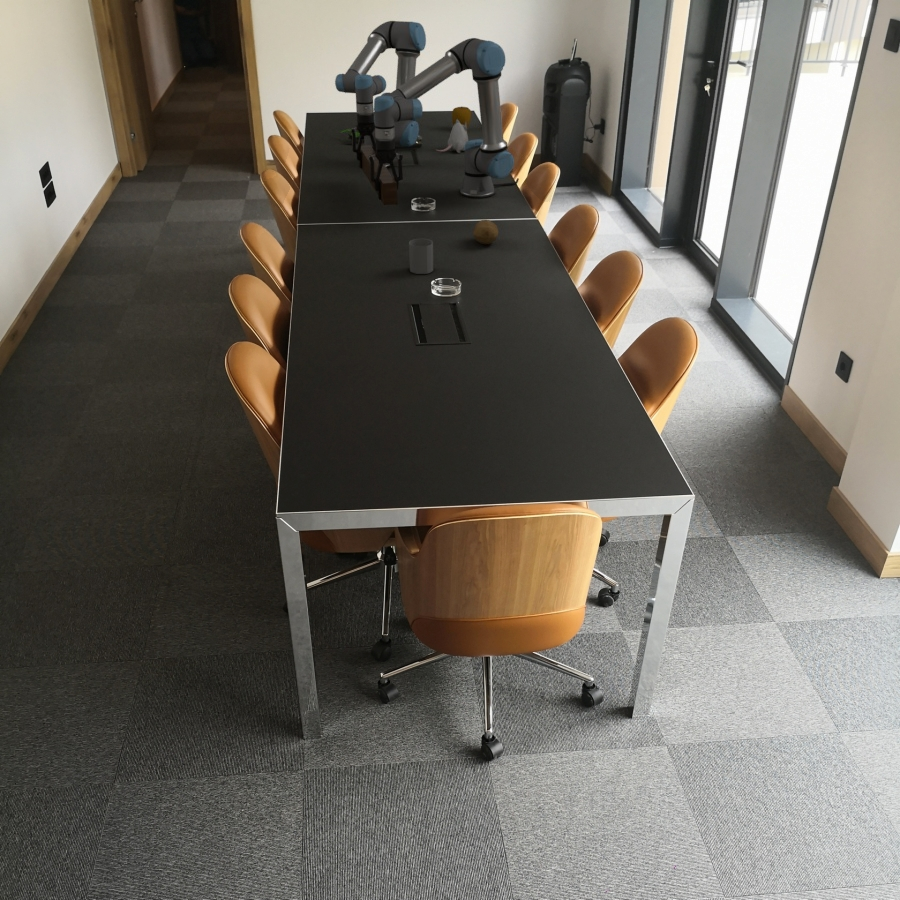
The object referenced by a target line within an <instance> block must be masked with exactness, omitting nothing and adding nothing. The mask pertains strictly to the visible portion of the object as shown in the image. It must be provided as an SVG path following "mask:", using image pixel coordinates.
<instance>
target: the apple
mask: <svg viewBox="0 0 900 900" xmlns="http://www.w3.org/2000/svg"><path fill="white" fill-rule="evenodd" d="M456 120H458V121H459V122H460V124H461V125H464V126H465V123H466V124H467V129H468V128H469V126H470V124H471V121H472V111H471V108H469V107H467V106H462V105H461V106H457V107H454V108H452V111H451V121H452V126H454V124H456Z"/></svg>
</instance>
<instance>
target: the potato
mask: <svg viewBox="0 0 900 900" xmlns="http://www.w3.org/2000/svg"><path fill="white" fill-rule="evenodd" d="M472 232H473V233H472V234H473V238H474V239H475V241H477V242H478V243H479V244H482V245H490V244H491V243H493V242H495V241H496V240H497V238H498V235H499V228H498V226H497V225H496V224H495V223H494V222H492V221H491V220H490V219H481V220H480V221H478V222H477V223H476V224H475V225H474V228H473V231H472Z"/></svg>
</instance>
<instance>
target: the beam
mask: <svg viewBox="0 0 900 900" xmlns="http://www.w3.org/2000/svg"><path fill="white" fill-rule="evenodd" d="M360 152H361V154H362V169H361V170H362V171H363V173H364V175H365V176H366V178H367V180H368V181H369V184H370V185H371V186H372V188H373V190H374V191H375V193H376V195H377V196H378V191H376V190H375V182H371V180H370V160H369V157H368V156H369V155H374V154H375V151H374V149H373V148H372V146H371V145H365V144H362V145H361V150H360ZM378 162H379V160H378V159H377V158H376V157H375V160H374V178H375V176H376V172H377V168H378ZM379 182H380V184H381V200H380V202H381V203H382V205H383V206H392V205H393V206H394V205H398V190H397V182H396V181H395V179H394V176H393V174H391V173H390V171H389V170H388V168H386V167H385V165H384V164H383V166H382V170H381V174H380V178H379Z"/></svg>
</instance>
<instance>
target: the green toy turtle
mask: <svg viewBox="0 0 900 900" xmlns="http://www.w3.org/2000/svg"><path fill="white" fill-rule="evenodd" d="M344 132H349V133H347V136H348V137H347V139H348V140H350V141H345V140H342V139H338V141H340V142H342V143H344V144H345V145H346V144H347V145H352V132H351V128H345V129H344V130H340V131H339V134H342V133H344ZM355 135H356V143H358V141H359V135H360V133H359V131H358V130H357V131H356V133H355ZM363 140H364V137H363Z"/></svg>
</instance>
